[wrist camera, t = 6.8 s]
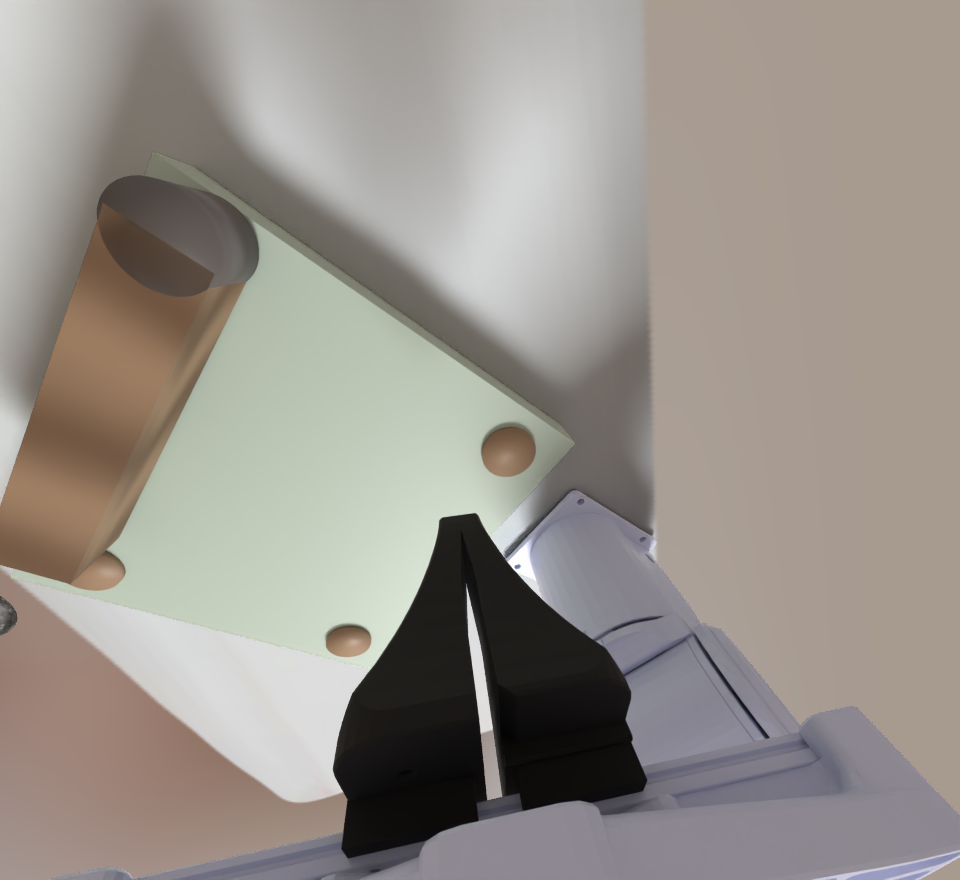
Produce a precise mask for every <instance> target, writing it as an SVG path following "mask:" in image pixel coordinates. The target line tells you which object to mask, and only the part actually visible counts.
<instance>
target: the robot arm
mask: <svg viewBox="0 0 960 880" xmlns="http://www.w3.org/2000/svg"><path fill="white" fill-rule="evenodd" d="M580 499H582V500H581V501H579V502H578V500H580ZM655 545H656V540H655V539H654V538H653V537H652V536H651V535H649V534H647V533H646V532H644V531H643V530H641V529H639V528H638V527H636V526H634V525H633V524H631V523H630V522H628V521H626V520H625V519H623V518H622V517H620V516H618V515H617V514H615V513H613V512H612V511H610V510H609V509H607V508H605V507H604V506H602V505H601V504H599V503H597V502H596V501H594V500H592V499H591V498H589V497H588V496H586V495H584V494H583V493H581V492H580V491H577V490H574V491H571V492H570V493H569V494H568V495H567V496H566V497H565V498H564V499H563V500H562V501H561V502H560V503H559V504H558V505H557V506H556V507H555V508H554V509H553V510H552V511H551V512H550V513H549V515H548V516H547V517H546V518H545V519H544V520H543V521H542V522H541V523H540V524H539V525H538V526H537V527H536V528H535V529H534V530H533V531H532V532H531V533H530V534H529V535H528V536H527V538H526V539H525V540H524V541H523V542H522V543H521V544H520V545H519V546H518V547H517V548H516V549H515V550H514V551H513V552H512V553H511V554H510V555H509V556H508V557H507V558H506V559H505V558H504V557H503V555H502V554H501V553H500V551H499V550H498V548H497V547H496V545H495V544H494V543H493V541H492V540H491V538H490V536H489V535H488V533H487V532H486V530H485V528H484V526H483V524H482V522H481V520H480V518H479V516H478V515H477V514H476V513H471V514H463V515H456V516H449V517H442V518H441V519H440V520H439V528H438V534H437V538H436V542H435V546H434V549H433V552H432V556H431V559H430V562H429V565H428V567H427V570H426V573H425V575H424V578H423V580H422V583H421V585H420V587H419V589H418V592H417V594H416V596H415V598H414V600H413V602H412V604H411V606H410V608H409V610H408V612H407V614H406V615H405V617H404V619H403V621H402V623H401V624H400V626H399V628H398V629H397V631H396V633H395V634H394V636H393V638H392V639H391V641H390V642H389V644H388V645H387V647H386V648H385V650H384V651H383V653H382V654H381V656H380V657H379V659H378V660H377V662H376V663H375V664H374V666H373V667H372V668H371V670H370V671H369V672H368V674H367V675H366V676H365V678H364V679H363V680H362V681H361V683H360V684H359V685H358V687H357V688H356V689H355V691H354V692H353V693H352V696H351V698H350V701H349V704H348V706H347V709H346V712H345V715H344V718H343V721H342V725H341V729H340V732H339V737H338V741H337V747H336V753H335V759H334V765H333V772H334V776H335V778H336V780H337V782H338V783H339V785H340V787H341V789H342V791H343V792H344V794H345V796H346V798H347V799H348V801H347V809H346V816H345V823H344V831H343V832H342V833H338V834H332V835H328V836H323V837H319V838H315V839H310V840H306V841H301V842H296V843H292V844H287V845H283V846H279V847H273V848H269V849H265V850H260V851H255V852H251V853H247V854H242V855H237V856H233V857H228V858H224V859H219V860H214V861H210V862H206V863H201V864H197V865H192V866H188V867H183V868H178V869H174V870H169V871H165V872H160V873H155V874H151V875H147V876H142V877H137V878H132V876H131V874H130V873H129V872H127V871H126V870H124V869H121V868H117V867H106V868H98V869H93V870H88V871H84V872H79V873H74V874H70V875H65V876H61V877H56V878H51V879H48V880H920V879H922V878H924V877H925V876H927V875H929V874H931V873H932V872H934V871H936V870H938V869H939V868H941V867H943V866H945V865H947V864H948V863H950V862H952V861H954V860H956V859H957V858H959V857H960V815H959V814H958V813H957V812H956V811H955V810H954V809H953V808H952V807H951V805H950V804H949V803H948V802H947V801H946V800H945V799H944V798H943V797H942V796H941V795H940V794H939V793H938V792H937V791H936V790H935V789H934V788H933V787H932V785H931V784H930V783H929V782H927V780H926V779H925V778H924V777H923V776H922V775H921V774H920V773H919V772H918V771H917V770H916V769H915V768H914V767H913V766H912V764H910V762H909V761H908V760H907V759H906V758H905V757H904V756H903V755H902V754H901V753H900V752H899V751H898V750H897V749H896V748H895V747H894V746H893V744H892V743H891V742H890V741H889V740H888V739H887V738H886V737H885V736H884V735H883V734H882V733H881V732H880V731H879V730H878V729H877V728H876V727H875V726H874V725H873V724H872V723H871V721H869V719H868V718H867V717H866V716H865V715H864V714H863V713H862V712H861V711H860V710H859V709H858V708H857V707H854V706H849V707H845V708H840V709H835V710H831V711H826V712H821V713H818V714H815V715H812V716H811V717H809V718H807V719H806V720H805V721H804V722H803V723H802V725H800V724H799V723H798V722H797V720H796V719H795V718H794V716H793V715H792V714H791V713H790V711H789V710H788V709H787V708H786V706H785V705H784V704H783V703H782V701H781V700H780V699H779V698H778V696H777V695H776V694H775V693H774V691H773V690H772V689H771V688H770V687H769V685H768V684H767V683H766V681H765V680H764V679H763V678H762V676H761V675H760V674H759V673H758V672H757V670H756V669H755V668H754V667H753V665H752V664H751V663H750V662H749V661H748V659H747V658H746V657H745V656H744V655H743V653H742V652H741V651H740V650H739V649H738V647H737V646H736V645H735V644H734V643H733V641H732V640H731V639H730V638H729V637H728V636H727V635H726V633H725V632H724V631H723V630H722V629H720V628H716V627H713V626H710V627H709V626H708V625H707V624H706V623H700V622H699V620H698V618H697V616H696V614H695V612H694V611H693V609H692V608H691V607H690V605H689V604H688V603H687V602H686V600H685V599H684V597H683V596H682V595H681V593H680V592H679V591H678V589H677V588H676V587H675V585H674V584H673V583H672V581H671V580H670V579H669V577H668V576H667V575H666V573H665V572H664V571H663V569H662V568H661V567H660V566H659V564H658V563H657V562H656V560H655V559H654V558H653V556H652V555H651V554H650V552H649V551H650V550H651V549H652V548H653V547H654V546H655ZM516 564H518V565H516ZM515 571H516V572H518V573H520V574H522V575H524V576H527V577H529V578H531V579H533V580H536V581H537V584H538V587H539V590H540V593H541V595H542V598H543V600H542V599H541V598H540V597H539V596H538V595H537V594H536V593H535V592H534V591H533V590H532V589H531V588H530V587H529V586H528V585H527V584H526V583H525V582H524V581H523V579H522V578H521V577H520V576H519V575H518V574H517V573H516V572H515ZM466 584H467V588H468V593H469V597H470V601H471V606H472V610H473V614H474V618H475V623H476V627H477V631H478V635H479V640H480V645H481V650H482V655H483V662H484V669H485V676H486V683H487V690H488V697H489V704H490V711H491V718H492V725H493V732H494V739H495V746H496V753H497V761H498V768H499V775H500V782H501V790H502V796H503V797H500V798H496V799H492V800H487V795H486V785H485V776H484V763H483V753H482V743H481V733H480V724H479V715H478V707H477V699H476V691H475V684H474V676H473V669H472V661H471V653H470V646H469V638H468V619H467V592H466Z"/></svg>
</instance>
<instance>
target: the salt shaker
mask: <svg viewBox="0 0 960 880" xmlns="http://www.w3.org/2000/svg"><path fill="white" fill-rule="evenodd" d="M16 622H17V613H16V611H15V610H14V608H13V607H12V605H11V604H10V603H9V602H7V601H6V600H5V599H4V598H2V597H1V596H0V635H3V634H5V633H7V632H8V631H10V630H11V629H12V628H13V627H14V626H15V624H16Z"/></svg>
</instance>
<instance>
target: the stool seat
mask: <svg viewBox="0 0 960 880" xmlns="http://www.w3.org/2000/svg"><path fill="white" fill-rule="evenodd" d="M145 176H148V177H152V178H157V179H160V180H164V181H168V182H172V183H176V184H179V185H183V186H187V187H191V188H194V189H198V190H202V191H206V192H210V193H212V194H215V195H218V196H220V197H222V198H224V199H225V200H227V201H228V202H230V203H231V204H232V205H234V206H235V207H236V208H237V209H238V210H239V211H240V212H241V213H242V214H243V215H244V217H245V218H246V219H247V221H248V222H249V223H250V225H251V227H252V229H253V231H254V233H255V235H256V238H257V242H258V247H259V262H258V266H257V268H256V271H255V273H254V274H253V276H252V277H251V278H250V279H249V280H248V281H247V282H246V284H245V286H244V288H243V290H242V292H241V294H240V296H239V298H238V300H237V302H236V304H235V306H234V308H233V310H232V312H231V314H230V316H229V318H228V320H227V322H226V324H225V326H224V328H223V330H222V332H221V334H220V336H219V338H218V340H217V342H216V344H215V346H214V348H213V350H212V352H211V354H210V356H209V358H208V360H207V362H206V364H205V366H204V368H203V370H202V372H201V374H200V376H199V378H198V380H197V382H196V384H195V386H194V388H193V390H192V393H191V395H190V397H189V399H188V401H187V403H186V405H185V407H184V409H183V411H182V413H181V415H180V417H179V419H178V421H177V423H176V425H175V427H174V429H173V431H172V433H171V435H170V437H169V439H168V441H167V443H166V445H165V447H164V449H163V451H162V453H161V455H160V457H159V459H158V461H157V463H156V465H155V467H154V469H153V471H152V473H151V475H150V477H149V479H148V481H147V483H146V485H145V487H144V489H143V491H142V493H141V495H140V497H139V499H138V501H137V503H136V505H135V507H134V509H133V511H132V513H131V515H130V517H129V519H128V521H127V523H126V525H125V527H124V529H123V531H122V533H121V535H120V537H119V538H118V539H117V540H116V541H115V542H114V543H113V544H112V545H111V546H110V547H109V548H108V549H107V550H106V551H105V552H104V553H103V554H102V555H100V556H99V557H98V558H97V559H96V560H95V561H94V562H93V563H92V564H91V565H90V566H89V567H88V568H87V569H86V570H85V571H84V572H83V573H82V574H81V575H80V576H79V577H78V578H77V579H76V580H74V581H73V582H72V583H71V584H67V583H64V582H60V581H57V580H53V579H49V578H46V577H42V576H39V575H35V574H31V573H28V572H24V571H20V570H17V569H14V571H13V574H12V577H11V578H14V579H18V580H22V581H26V582H30V583H34V584H38V585H42V586H46V587H50V588H53V589H57V590H61V591H65V592H69V593H73V594H77V595H81V596H85V597H89V598H93V599H96V600H100V601H104V602H108V603H112V604H116V605H120V606H124V607H128V608H132V609H136V610H139V611H143V612H147V613H151V614H155V615H159V616H163V617H167V618H171V619H175V620H179V621H182V622H186V623H190V624H194V625H198V626H202V627H206V628H210V629H214V630H218V631H222V632H225V633H229V634H233V635H237V636H241V637H245V638H249V639H253V640H257V641H261V642H265V643H268V644H272V645H276V646H280V647H284V648H288V649H292V650H296V651H300V652H304V653H308V654H311V655H315V656H319V657H323V658H327V659H331V660H335V661H339V662H343V663H347V664H350V665H354V666H358V667H362V668H366V669H371V668H372V667H373V666H374V664H375V663H376V662H377V660H378V659H379V657H380V656H381V654H382V653H383V651H384V650H385V648H386V647H387V645H388V644H389V642H390V641H391V639H392V638H393V636H394V634H395V633H396V631H397V629H398V628H399V626H400V624H401V623H402V621H403V619H404V617H405V615H406V614H407V612H408V610H409V608H410V606H411V604H412V602H413V600H414V598H415V596H416V594H417V592H418V589H419V587H420V585H421V583H422V580H423V578H424V575H425V573H426V570H427V567H428V565H429V562H430V559H431V556H432V552H433V549H434V546H435V542H436V538H437V534H438V528H439V520H440V519H441V518H442V517H449V516H456V515H463V514H471V513H476V514H477V515H478V516H479V518H480V520H481V522H482V524H483V526H484V528H485V530H486V532H487V533H488V535H489V536H490V537H491V536H492V535H493V534H494V533H495V532H496V531H497V529H498V528H499V527H500V526H501V525H502V524H503V523H504V522H505V521H506V520H507V518H508V517H509V516H510V515H511V514H512V513H513V512H514V511H515V510H516V509H517V508H518V506H519V505H520V504H521V503H522V502H523V501H524V500H525V499H526V498H527V497H528V495H529V494H530V493H531V492H532V491H533V490H534V489H535V488H536V487H537V486H538V484H539V483H540V482H541V481H542V480H543V479H544V478H545V477H546V476H547V475H548V473H549V472H550V471H551V470H552V469H553V468H554V467H555V466H556V465H557V464H558V462H559V461H560V460H561V459H562V458H563V457H564V456H565V455H566V454H567V453H568V451H569V450H570V449H571V448H572V447H573V446H574V445H575V444H576V443H575V442H574V441H573V439H572V438H571V437H570V436H569V434H568V433H567V432H566V431H565V429H564V428H563V427H562V426H561V424H559V423H558V422H556V421H555V420H553V419H552V418H551V417H549V416H548V415H546V414H545V413H543V412H542V411H541V410H539V409H538V408H536V407H535V406H534V405H532V404H531V403H529V402H528V401H526V400H525V399H524V398H522V397H521V396H519V395H518V394H516V393H515V392H514V391H512V390H511V389H509V388H508V387H507V386H505V385H504V384H502V383H501V382H499V381H498V380H497V379H495V378H494V377H492V376H491V375H489V374H488V373H487V372H485V371H484V370H482V369H481V368H480V367H478V366H477V365H475V364H474V363H472V362H471V361H470V360H468V359H467V358H465V357H464V356H462V355H461V354H460V353H458V352H457V351H455V350H454V349H452V348H451V347H450V346H448V345H447V344H445V343H444V342H443V341H441V340H440V339H438V338H437V337H435V336H434V335H433V334H431V333H430V332H428V331H427V330H425V329H424V328H423V327H421V326H420V325H418V324H417V323H416V322H414V321H413V320H411V319H410V318H408V317H407V316H406V315H404V314H403V313H401V312H400V311H398V310H397V309H396V308H394V307H393V306H391V305H390V304H389V303H387V302H386V301H384V300H383V299H381V298H380V297H379V296H377V295H376V294H374V293H373V292H371V291H370V290H369V289H367V288H366V287H364V286H363V285H361V284H360V283H359V282H357V281H356V280H354V279H353V278H352V277H350V276H349V275H347V274H346V273H344V272H343V271H342V270H340V269H339V268H337V267H336V266H334V265H333V264H332V263H330V262H329V261H327V260H326V259H325V258H323V257H322V256H320V255H319V254H317V253H316V252H315V251H313V250H312V249H310V248H309V247H307V246H306V245H305V244H303V243H302V242H300V241H299V240H298V239H296V238H295V237H293V236H292V235H290V234H289V233H288V232H286V231H285V230H283V229H282V228H280V227H279V226H278V225H276V224H275V223H273V222H272V221H270V220H269V219H268V218H266V217H265V216H263V215H262V214H261V213H259V212H258V211H256V210H255V209H253V208H252V207H251V206H249V205H248V204H246V203H245V202H243V201H242V200H241V199H239V198H238V197H236V196H235V195H234V194H232V193H231V192H229V191H228V190H226V189H225V188H224V187H222V186H221V185H219V184H218V183H216V182H215V181H214V180H212V179H211V178H209V177H208V176H207V175H205V174H204V173H202V172H201V171H199V170H198V169H197V168H195V167H194V166H192V165H189V164H186V163H183V162H181V161H178V160H175V159H172V158H170V157H167V156H164V155H161V154H158V153H156V152H152V155H151V158H150V161H149V164H148V167H147V170H146V173H145Z"/></svg>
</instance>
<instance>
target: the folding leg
mask: <svg viewBox="0 0 960 880" xmlns="http://www.w3.org/2000/svg"><path fill="white" fill-rule="evenodd" d="M258 262H259V247H258V242H257V238H256V235H255V233H254V231H253V229H252V227H251V225H250V223H249V222H248V221H247V219H246V218H245V217H244V215H243V214H242V213H241V212H240V211H239V210H238V209H237V208H236V207H235V206H234V205H232V204H231V203H230V202H228V201H227V200H225V199H224V198H222V197H220V196H218V195H215V194H212V193H210V192H206V191H202V190H198V189H194V188H191V187H187V186H183V185H179V184H176V183H172V182H168V181H164V180H160V179H157V178H152V177H148V176H140V175H139V176H127V177H123V178H120V179H118V180H116V181H114V182H113V183H111V184H110V185H109V186H108V187H107V188H106V189H105V190H104V192H103V193H102V195H101V197H100V199H99V203H98V207H97V223H96V226H95V229H94V232H93V235H92V238H91V240H90V243H89V246H88V249H87V252H86V255H85V258H84V261H83V264H82V267H81V270H80V273H79V276H78V279H77V282H76V285H75V288H74V291H73V293H72V296H71V299H70V302H69V305H68V308H67V311H66V314H65V317H64V320H63V323H62V326H61V329H60V332H59V335H58V338H57V341H56V344H55V346H54V349H53V352H52V355H51V358H50V361H49V364H48V367H47V370H46V373H45V376H44V379H43V382H42V385H41V388H40V391H39V394H38V397H37V399H36V402H35V405H34V408H33V411H32V414H31V417H30V420H29V423H28V426H27V429H26V432H25V435H24V438H23V441H22V444H21V447H20V450H19V452H18V455H17V458H16V461H15V464H14V467H13V470H12V473H11V476H10V479H9V482H8V485H7V488H6V491H5V494H4V497H3V500H2V503H1V505H0V565H2V566H6V567H10V568H13V569H17V570H20V571H24V572H28V573H31V574H35V575H39V576H42V577H46V578H49V579H53V580H57V581H60V582H64V583H67V584H71V583H72V582H73V581H74V580H76V579H77V578H78V577H79V576H80V575H81V574H82V573H83V572H84V571H85V570H86V569H87V568H88V567H89V566H90V565H91V564H92V563H93V562H94V561H95V560H96V559H97V558H98V557H99V556H100V555H102V554H103V553H104V552H105V551H106V550H107V549H108V548H109V547H110V546H111V545H112V544H113V543H114V542H115V541H116V540H117V539H118V538H119V537H120V535H121V533H122V531H123V529H124V527H125V525H126V523H127V521H128V519H129V517H130V515H131V513H132V511H133V509H134V507H135V505H136V503H137V501H138V499H139V497H140V495H141V493H142V491H143V489H144V487H145V485H146V483H147V481H148V479H149V477H150V475H151V473H152V471H153V469H154V467H155V465H156V463H157V461H158V459H159V457H160V455H161V453H162V451H163V449H164V447H165V445H166V443H167V441H168V439H169V437H170V435H171V433H172V431H173V429H174V427H175V425H176V423H177V421H178V419H179V417H180V415H181V413H182V411H183V409H184V407H185V405H186V403H187V401H188V399H189V397H190V395H191V393H192V390H193V388H194V386H195V384H196V382H197V380H198V378H199V376H200V374H201V372H202V370H203V368H204V366H205V364H206V362H207V360H208V358H209V356H210V354H211V352H212V350H213V348H214V346H215V344H216V342H217V340H218V338H219V336H220V334H221V332H222V330H223V328H224V326H225V324H226V322H227V320H228V318H229V316H230V314H231V312H232V310H233V308H234V306H235V304H236V302H237V300H238V298H239V296H240V294H241V292H242V290H243V288H244V286H245V284H246V282H247V281H248V280H249V279H250V278H251V277H252V276H253V274H254V273H255V271H256V268H257V266H258Z"/></svg>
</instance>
